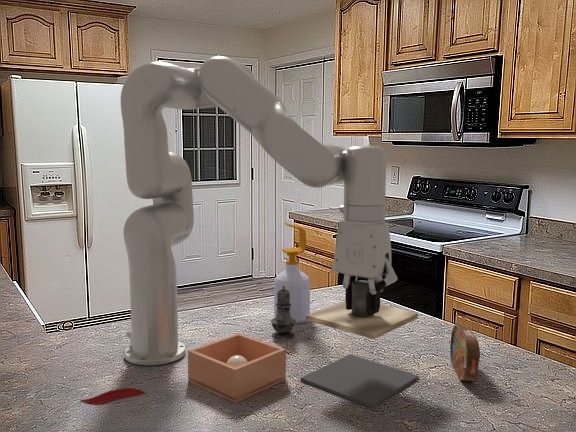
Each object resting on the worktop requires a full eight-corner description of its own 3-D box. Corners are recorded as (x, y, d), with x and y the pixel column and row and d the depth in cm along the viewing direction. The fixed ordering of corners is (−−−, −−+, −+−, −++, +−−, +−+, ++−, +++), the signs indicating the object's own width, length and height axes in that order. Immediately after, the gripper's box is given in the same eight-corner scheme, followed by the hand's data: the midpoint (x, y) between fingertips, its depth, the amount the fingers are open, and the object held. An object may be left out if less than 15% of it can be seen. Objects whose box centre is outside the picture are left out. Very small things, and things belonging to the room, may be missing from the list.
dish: (188, 381, 105) (187, 350, 104) (238, 361, 115) (238, 333, 114) (235, 403, 97) (235, 369, 96) (285, 379, 106) (285, 349, 105)
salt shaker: (293, 341, 127) (293, 289, 125) (268, 339, 128) (268, 288, 126) (297, 332, 132) (298, 283, 131) (273, 330, 134) (273, 281, 132)
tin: (448, 357, 118) (450, 318, 117) (463, 358, 118) (465, 319, 117) (462, 388, 103) (465, 344, 102) (480, 389, 103) (482, 345, 102)
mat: (300, 380, 106) (300, 377, 106) (349, 356, 118) (350, 354, 118) (372, 408, 95) (372, 404, 95) (418, 378, 107) (418, 375, 107)
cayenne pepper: (74, 408, 95) (74, 397, 95) (81, 395, 100) (81, 385, 100) (146, 405, 97) (146, 394, 96) (150, 393, 101) (149, 383, 101)
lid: (305, 320, 104) (306, 283, 103) (352, 303, 115) (353, 269, 114) (373, 339, 94) (374, 299, 93) (417, 318, 105) (419, 282, 104)
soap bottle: (270, 314, 146) (270, 221, 142) (302, 311, 148) (304, 220, 145) (279, 325, 137) (280, 226, 134) (314, 322, 140) (316, 225, 137)
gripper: (315, 212, 105) (315, 306, 107) (393, 220, 94) (390, 325, 96) (339, 208, 110) (338, 298, 113) (415, 216, 99) (412, 315, 102)
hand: (362, 309), depth 104 cm, fingers closed on lid, 4 cm apart
